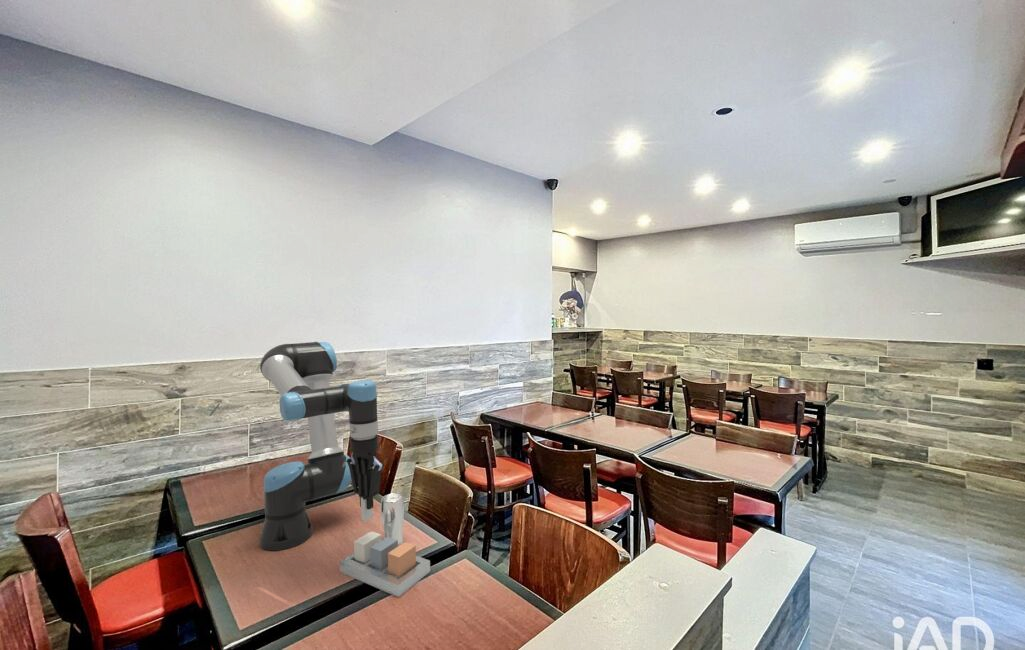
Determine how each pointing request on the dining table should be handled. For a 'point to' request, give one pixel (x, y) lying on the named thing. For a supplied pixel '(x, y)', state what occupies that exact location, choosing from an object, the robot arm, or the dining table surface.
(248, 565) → the dining table surface
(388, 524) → the beer glass
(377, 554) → the slate key
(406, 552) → the orange block
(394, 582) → the grey tray
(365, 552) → the cream block
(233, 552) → the dining table surface
